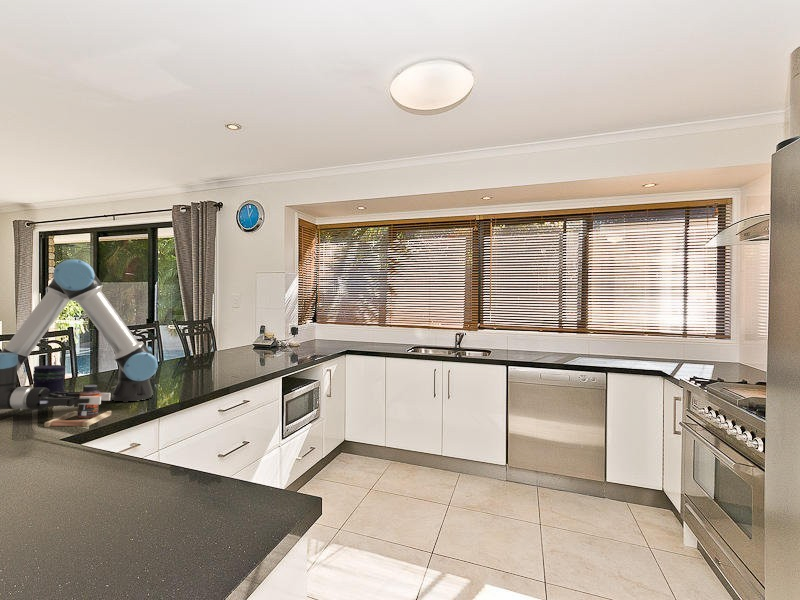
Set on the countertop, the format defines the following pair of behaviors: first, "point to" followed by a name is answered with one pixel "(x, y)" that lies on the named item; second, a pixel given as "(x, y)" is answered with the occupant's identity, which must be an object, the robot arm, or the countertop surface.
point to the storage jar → (49, 377)
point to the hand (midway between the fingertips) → (105, 398)
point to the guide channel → (63, 422)
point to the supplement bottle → (88, 410)
